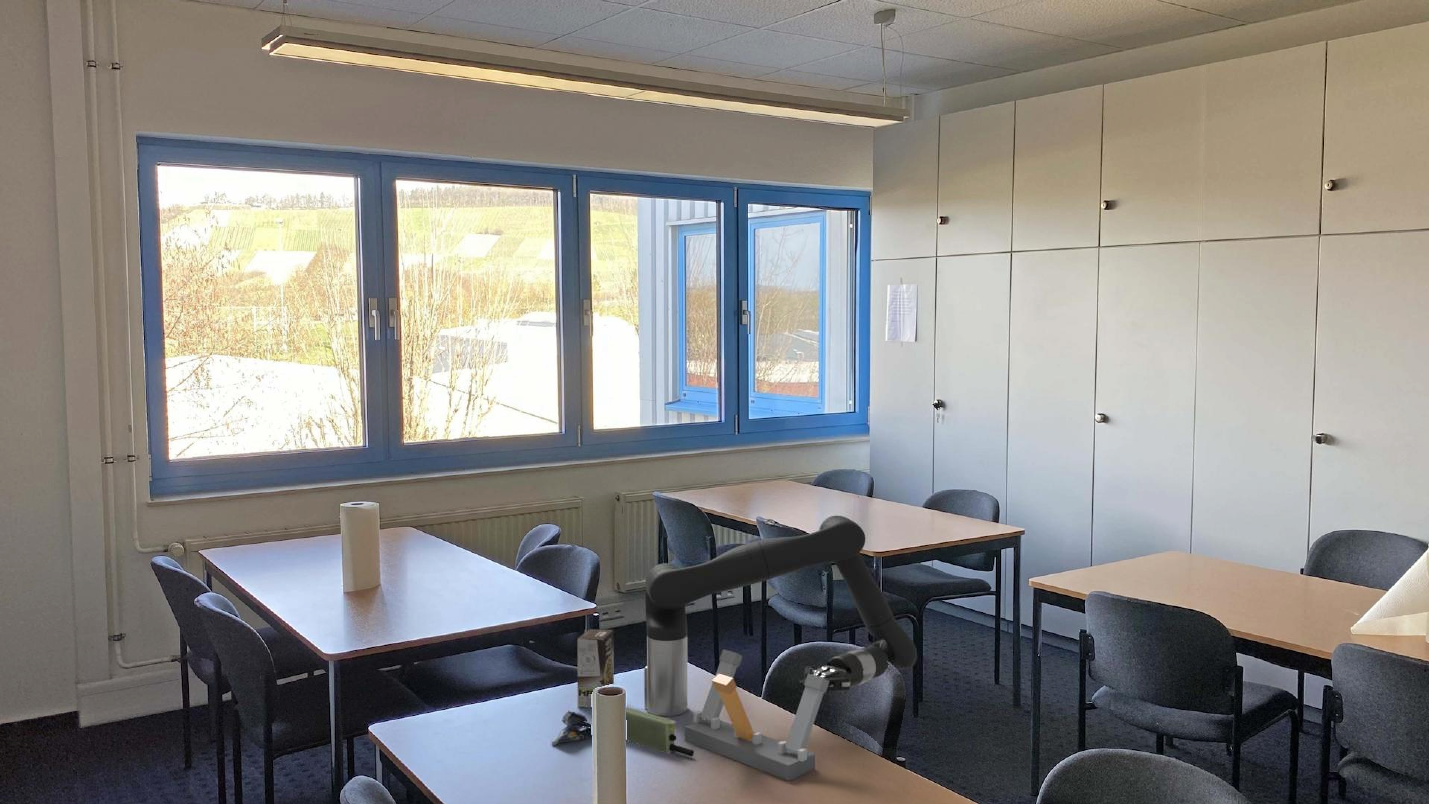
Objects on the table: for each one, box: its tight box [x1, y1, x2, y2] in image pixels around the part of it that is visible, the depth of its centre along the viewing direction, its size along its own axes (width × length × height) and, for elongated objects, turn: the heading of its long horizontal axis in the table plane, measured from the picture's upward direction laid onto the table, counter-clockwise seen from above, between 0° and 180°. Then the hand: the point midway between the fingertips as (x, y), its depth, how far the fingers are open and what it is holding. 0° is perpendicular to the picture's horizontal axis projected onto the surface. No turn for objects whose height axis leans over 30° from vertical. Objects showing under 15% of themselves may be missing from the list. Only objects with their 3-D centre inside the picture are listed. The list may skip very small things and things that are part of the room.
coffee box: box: [576, 628, 615, 709], centre depth 247 cm, size 9×6×16 cm
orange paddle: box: [711, 674, 754, 741], centre depth 212 cm, size 4×2×15 cm, turn 45°
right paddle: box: [785, 674, 829, 753], centre depth 209 cm, size 4×2×15 cm, turn 45°
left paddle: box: [700, 648, 743, 721], centre depth 226 cm, size 4×2×15 cm, turn 45°
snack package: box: [550, 710, 592, 746], centre depth 225 cm, size 12×6×12 cm
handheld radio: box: [625, 706, 695, 757], centre depth 221 cm, size 7×3×25 cm
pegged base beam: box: [684, 710, 816, 782], centre depth 215 cm, size 30×8×5 cm, turn 45°
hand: (801, 687), depth 227 cm, fingers closed
